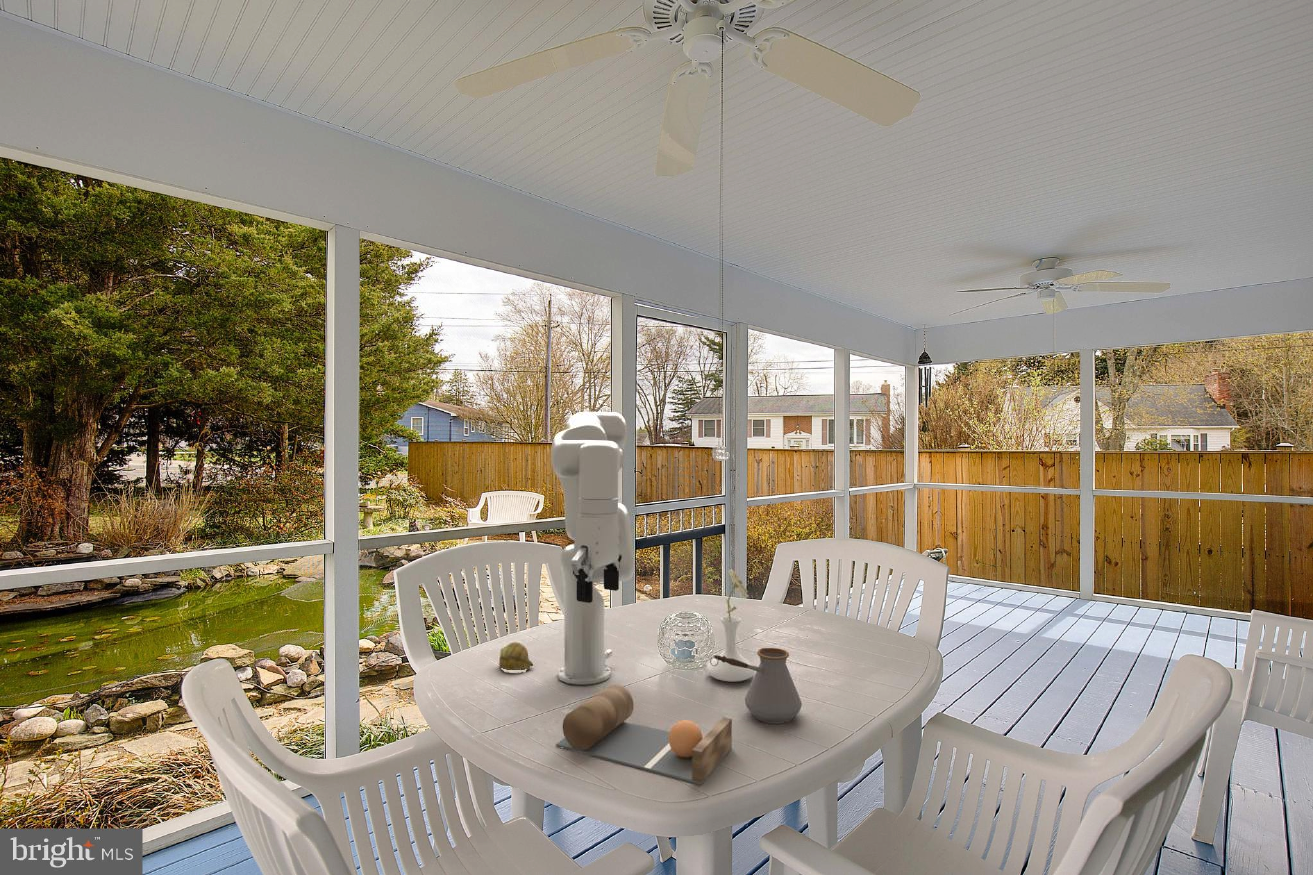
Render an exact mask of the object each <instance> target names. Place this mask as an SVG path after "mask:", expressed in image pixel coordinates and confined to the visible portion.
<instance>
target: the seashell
mask: <svg viewBox="0 0 1313 875" xmlns="http://www.w3.org/2000/svg"><path fill="white" fill-rule="evenodd" d="M499 654H500V655H499V662H498V664H499V668H500V667H501V668H503V669H506V670H525V669H528V670H529V669H530V667H533V666H534V663H533V661H531V660H530V657H529V652H528V649H527V648H526V646H525V645H523V644H522V643H520V642H511V643H510V642H509V643H508V644H507V645H506V646H504V647H503V648H501V649H500V653H499Z"/></svg>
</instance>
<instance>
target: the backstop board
mask: <svg viewBox="0 0 1313 875" xmlns="http://www.w3.org/2000/svg"><path fill="white" fill-rule="evenodd" d="M732 729H733V719H732V718H728V717H724V716H723V717H722V718H721V719H720V720H719V721H718V722H717V723H716V724H715V725H714V726H713V728H712V729H711V730H709V732H708V733H707V734H706V735H704V736H703V737H702V738H703V739H702V740H701V741H700V742H699V743H698V744H697V745H696V746H695V748H694V749H693V750H692V780H693V781H697V782H702V781H703V780H704V779H705V778H706V776H707V775H708V774H709V773H710V772H711V770H712V769H713V768H714V767H715V766H716V764H717V763H718V762H719V761H720V760H721V759H722V757H723V756H724V755H725V754H726V753H727V751H728V750H729V749H730V748H731V747H732V748H733V746H732V743H733V742H732V740H733V738H732V737H733V735H732V734H733V733H732V732H733V730H732Z"/></svg>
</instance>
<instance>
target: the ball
mask: <svg viewBox="0 0 1313 875" xmlns="http://www.w3.org/2000/svg"><path fill="white" fill-rule="evenodd" d="M669 732H670V733H669V744H670V747H671V749H672V750H673V752H674V753H675V754H677V755H678V756H680V757H684V758H687V757H692V750H693V749H694V748H695V746H696V745H697V744H698V743H699V742H700V741H701V740H702V739H703V738H704V737H703V733H702V731H701V728H700V727H699V726H698V725H697V724H696V723H695V722H693V721H691V720H687V719H685V720H680V721H677V722H676V723H675V724H674V725H672V727H671V728H670V731H669Z"/></svg>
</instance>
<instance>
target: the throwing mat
mask: <svg viewBox="0 0 1313 875" xmlns="http://www.w3.org/2000/svg"><path fill="white" fill-rule="evenodd" d="M669 733H670V731H667V730H663V729H659V728H655V727H650V726H646V725H641V724H637V723H633V722H629V721H624V722H622V723H621V724H620V725H619V726H617V727H616V728H615V729H613V730H612V731H611V732H609V733H608V734H607V735H606V736H604V737H603V738H602V739H600V740H599V741H598V742H596V743H595V744H594V745H593V746H591V747H590V748H589V749H587V750H583V751H582V750H577V749H575V748H573V747H572V746H571V745H570V744H569V743H568V742H567V740H566V738H565V737H564V738H562V739H561V740H559V741H558V742H557V743H555V746H556V747H557V746H558V747H557V748H561V747H563V748H562V749H564V748H565V750H568V749H569V751H573V752H576V753H581V754H583V755H584V754H585V755H587V756H590V757H591V756H592V757H595V758H598V759H603V760H607V761H611V762H614V763H617V764H621V765H625V766H629V767H632V768H636V769H641V770H643V771H646V772H651V773H655V774H659V775H662V776H666V777H669V778H673V779H677V780H681V781H685V782H687V783H693V784H696V785H699V786H702V785H703V784H704V782H706V780H707V779H708V778H709V776H710V775H711V774H712V773H713V772H714V770H715V769H716V768H717V767H718V765H719V764H720V763H721V762H722V761H723V760H724V759H725V757H726V756H728V754H729V753H730V751H731V750H732V749H733V746H732V747H731V748H730V749H729V750H728V751H727V753H726V754H725V755H724V756H723V757H722V759H721V760H720V761H719V762H718V763H717V764H716V766H715V767H714V768H713V769H712V770H711V772H710V773H709V774H708V775H707V776H706V778H705V779H704V780H703V781H702V782H697V781H693V780H692V757H687V758H684V757H680V756H678V755H677V754H675V753H674V752H673V750H672V749H671V747H670V744H669Z"/></svg>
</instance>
